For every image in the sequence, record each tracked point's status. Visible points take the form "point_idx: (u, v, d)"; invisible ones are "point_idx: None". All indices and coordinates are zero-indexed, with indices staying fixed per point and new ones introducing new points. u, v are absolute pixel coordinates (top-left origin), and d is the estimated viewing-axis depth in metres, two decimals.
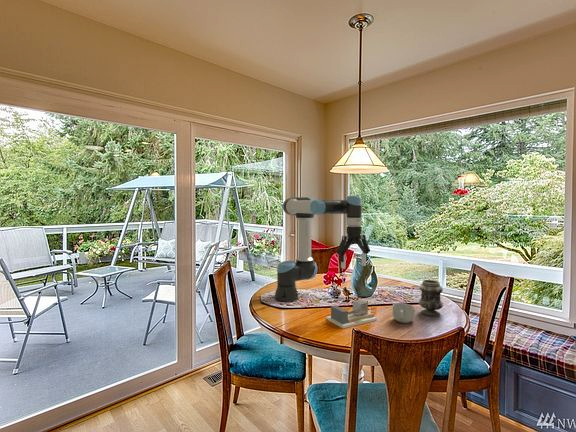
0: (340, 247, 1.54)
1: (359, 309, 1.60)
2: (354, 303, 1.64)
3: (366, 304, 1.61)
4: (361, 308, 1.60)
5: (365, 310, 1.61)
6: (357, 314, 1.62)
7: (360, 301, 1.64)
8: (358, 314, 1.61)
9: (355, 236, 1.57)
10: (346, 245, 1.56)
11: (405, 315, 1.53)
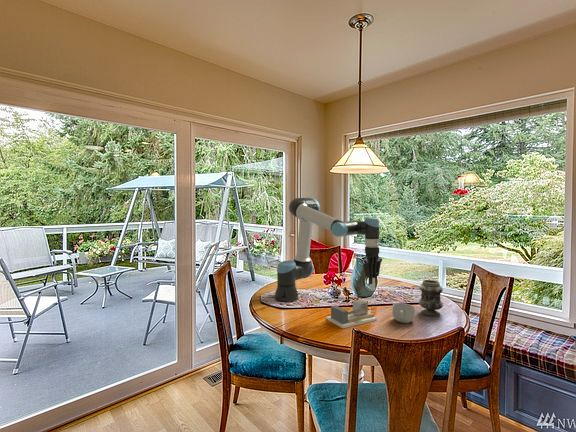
0: (366, 271, 1.64)
1: (359, 309, 1.60)
2: (354, 303, 1.64)
3: (366, 304, 1.61)
4: (361, 308, 1.60)
5: (365, 310, 1.61)
6: (357, 314, 1.62)
7: (360, 301, 1.64)
8: (358, 314, 1.61)
9: (373, 256, 1.65)
10: (369, 267, 1.65)
11: (405, 315, 1.53)
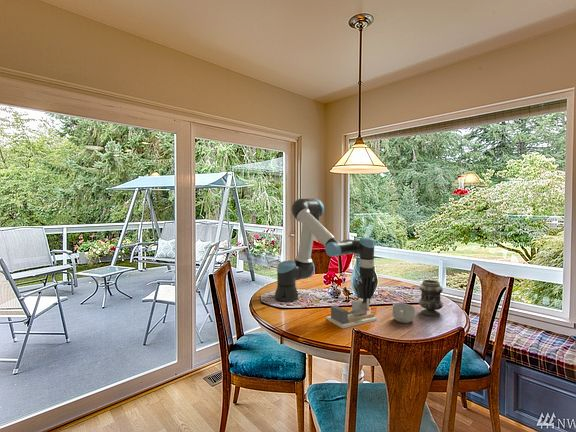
0: (360, 291, 1.63)
1: (358, 309, 1.60)
2: (353, 303, 1.63)
3: (365, 304, 1.61)
4: (360, 308, 1.59)
5: (364, 310, 1.61)
6: (356, 314, 1.61)
7: (359, 301, 1.64)
8: (357, 314, 1.61)
9: (368, 276, 1.64)
10: (364, 288, 1.64)
11: (405, 315, 1.53)
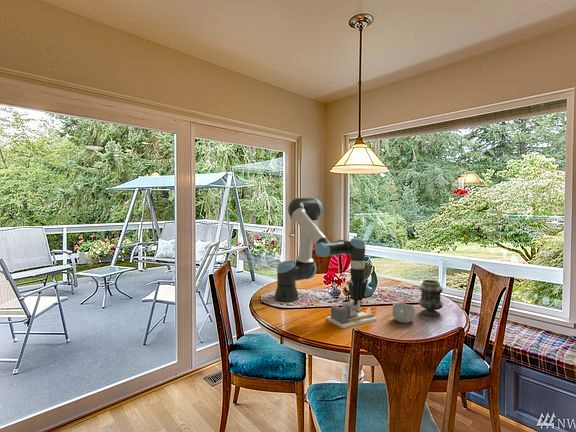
0: (351, 293, 1.60)
1: (349, 311, 1.57)
2: (344, 305, 1.60)
3: (356, 306, 1.58)
4: (350, 310, 1.56)
5: (355, 312, 1.58)
6: None
7: (350, 303, 1.61)
8: (348, 316, 1.58)
9: (359, 278, 1.61)
10: (354, 289, 1.61)
11: (405, 315, 1.53)
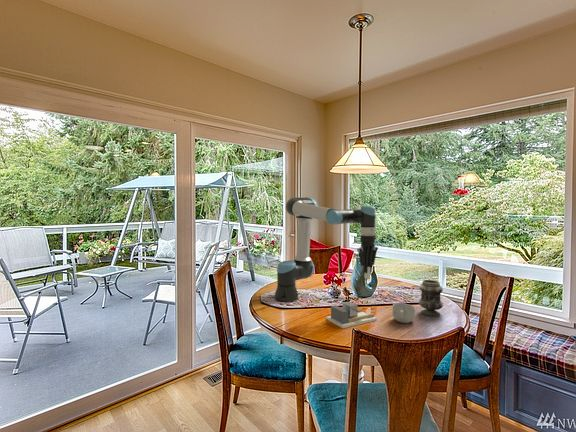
0: (361, 259, 1.63)
1: (349, 311, 1.57)
2: (344, 305, 1.60)
3: (356, 306, 1.58)
4: (350, 310, 1.56)
5: (355, 312, 1.58)
6: None
7: (350, 303, 1.61)
8: (348, 316, 1.58)
9: (369, 245, 1.64)
10: (365, 256, 1.64)
11: (405, 315, 1.53)
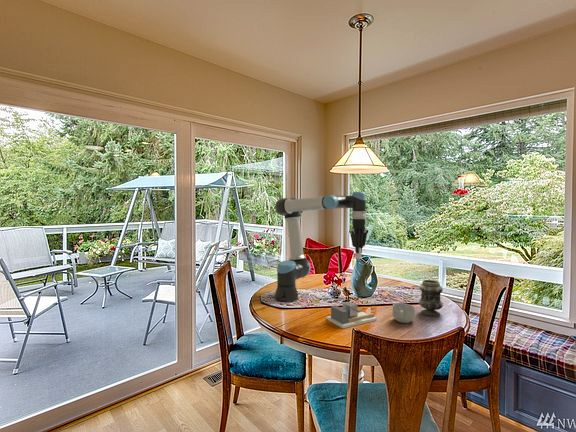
0: (353, 241, 1.77)
1: (349, 311, 1.57)
2: (344, 305, 1.60)
3: (356, 306, 1.58)
4: (350, 310, 1.56)
5: (355, 312, 1.58)
6: None
7: (350, 303, 1.61)
8: (348, 316, 1.58)
9: (360, 227, 1.78)
10: (356, 237, 1.78)
11: (405, 315, 1.53)
